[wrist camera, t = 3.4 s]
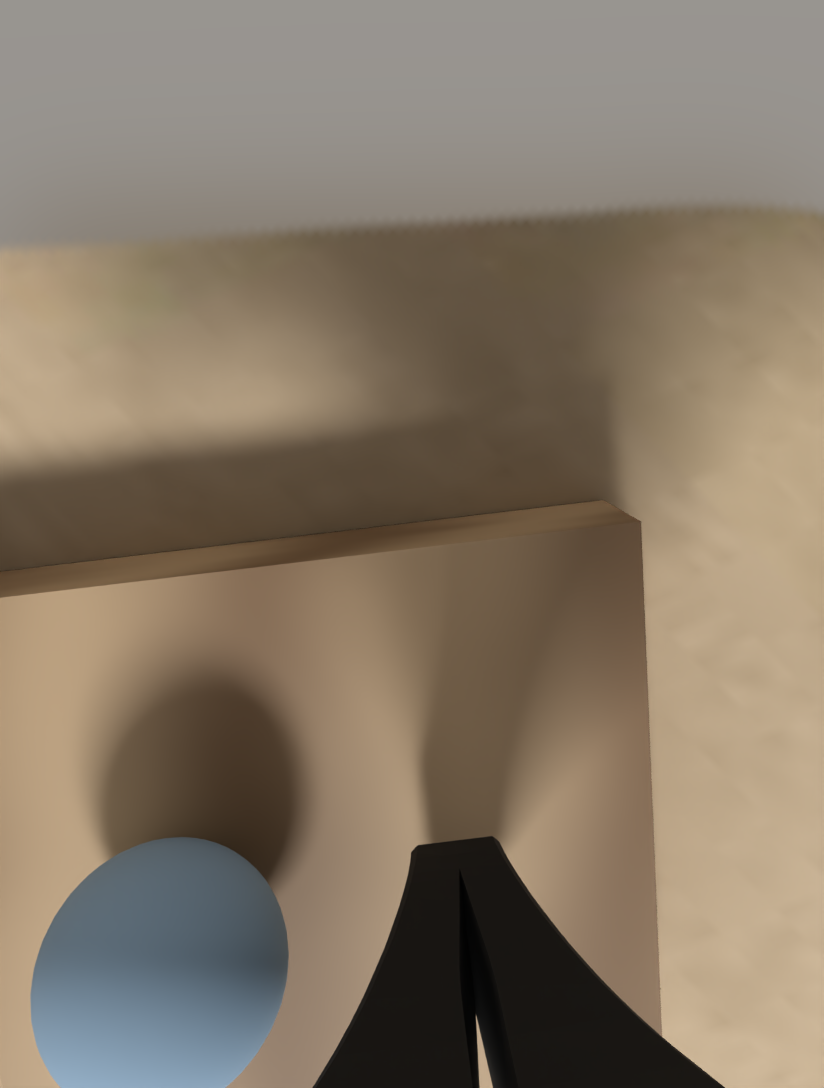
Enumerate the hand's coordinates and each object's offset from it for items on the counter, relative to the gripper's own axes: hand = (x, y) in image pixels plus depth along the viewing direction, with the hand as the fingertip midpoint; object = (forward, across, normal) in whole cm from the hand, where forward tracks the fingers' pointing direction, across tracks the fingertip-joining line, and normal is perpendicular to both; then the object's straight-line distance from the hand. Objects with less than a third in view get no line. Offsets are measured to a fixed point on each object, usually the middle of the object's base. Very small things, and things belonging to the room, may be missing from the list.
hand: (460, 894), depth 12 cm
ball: (-1, +4, 0) cm, 5 cm away
